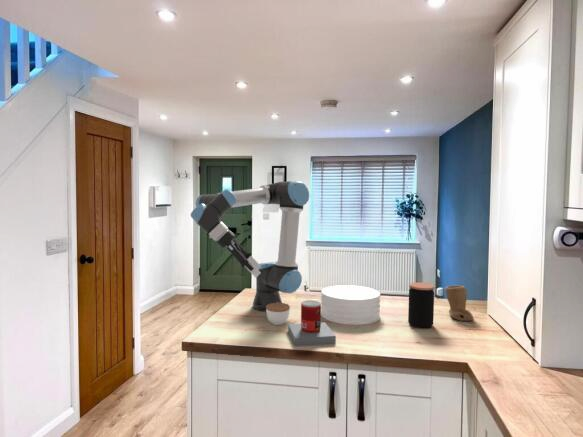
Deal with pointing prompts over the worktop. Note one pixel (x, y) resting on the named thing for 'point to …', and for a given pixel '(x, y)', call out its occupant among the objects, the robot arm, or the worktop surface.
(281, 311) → the lidded jar
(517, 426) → the worktop surface
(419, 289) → the coffee jar
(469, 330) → the worktop surface
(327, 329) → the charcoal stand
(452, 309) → the brown boot
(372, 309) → the plate stack
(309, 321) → the canned food
